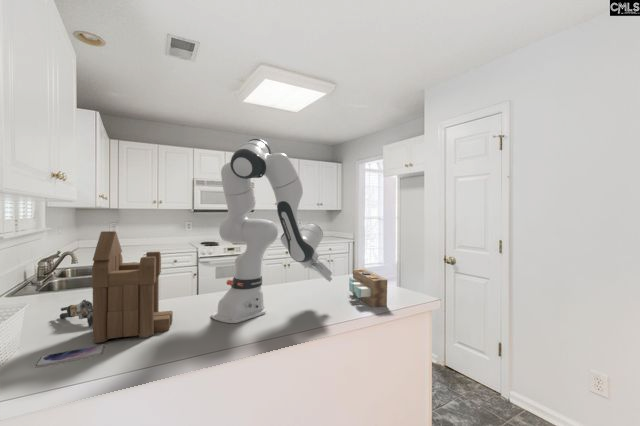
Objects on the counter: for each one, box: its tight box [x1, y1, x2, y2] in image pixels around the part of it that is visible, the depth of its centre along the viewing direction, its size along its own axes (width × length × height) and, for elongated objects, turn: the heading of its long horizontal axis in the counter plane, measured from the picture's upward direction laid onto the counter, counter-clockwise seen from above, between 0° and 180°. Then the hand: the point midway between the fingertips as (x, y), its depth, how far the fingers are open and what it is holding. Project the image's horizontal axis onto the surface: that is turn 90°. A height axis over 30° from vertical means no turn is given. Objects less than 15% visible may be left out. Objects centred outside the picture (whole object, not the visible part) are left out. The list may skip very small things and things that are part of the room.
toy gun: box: [59, 299, 93, 328], centre depth 113 cm, size 3×21×10 cm, turn 68°
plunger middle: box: [348, 281, 364, 294], centre depth 147 cm, size 9×4×4 cm, turn 106°
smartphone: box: [34, 344, 105, 369], centre depth 88 cm, size 7×1×15 cm
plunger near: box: [355, 286, 371, 299], centre depth 139 cm, size 9×4×4 cm, turn 106°
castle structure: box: [91, 230, 174, 344], centre depth 111 cm, size 27×22×35 cm
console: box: [352, 268, 388, 308], centre depth 148 cm, size 7×24×13 cm, turn 16°
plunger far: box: [348, 277, 358, 283], centre depth 155 cm, size 9×4×4 cm, turn 106°
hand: (329, 279), depth 135 cm, fingers closed
